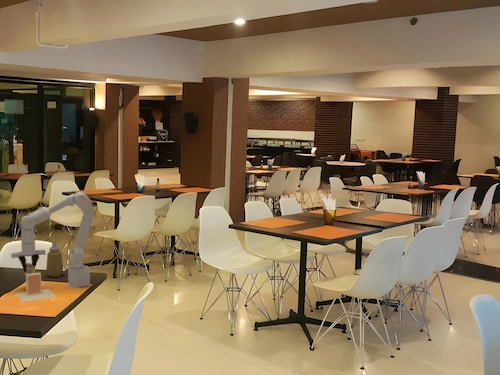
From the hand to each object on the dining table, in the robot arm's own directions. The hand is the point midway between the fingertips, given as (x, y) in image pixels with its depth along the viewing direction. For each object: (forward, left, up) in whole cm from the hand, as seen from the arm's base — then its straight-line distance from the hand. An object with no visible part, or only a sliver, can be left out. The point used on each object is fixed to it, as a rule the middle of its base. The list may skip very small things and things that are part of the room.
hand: (29, 271), depth 254 cm
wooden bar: (0, 0, -2) cm, 2 cm away
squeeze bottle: (-16, -18, -9) cm, 25 cm away
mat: (0, +11, -8) cm, 14 cm away
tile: (0, +8, -8) cm, 12 cm away
